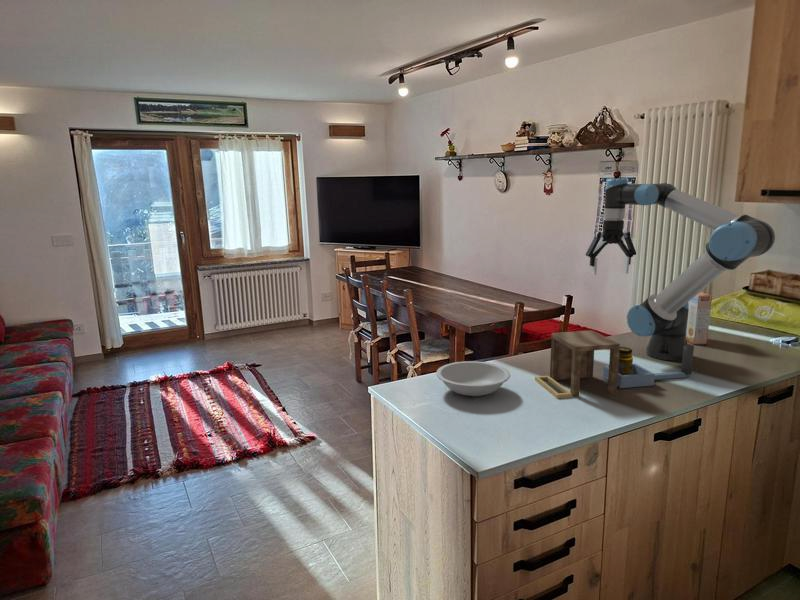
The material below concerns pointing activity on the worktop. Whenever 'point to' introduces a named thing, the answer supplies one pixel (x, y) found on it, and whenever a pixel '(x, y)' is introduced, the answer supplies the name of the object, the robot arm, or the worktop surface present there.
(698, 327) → the cracker box
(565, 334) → the tunnel
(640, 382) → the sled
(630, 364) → the condiment
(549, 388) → the beige rectangular tray
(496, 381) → the soup bowl
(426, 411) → the worktop surface
